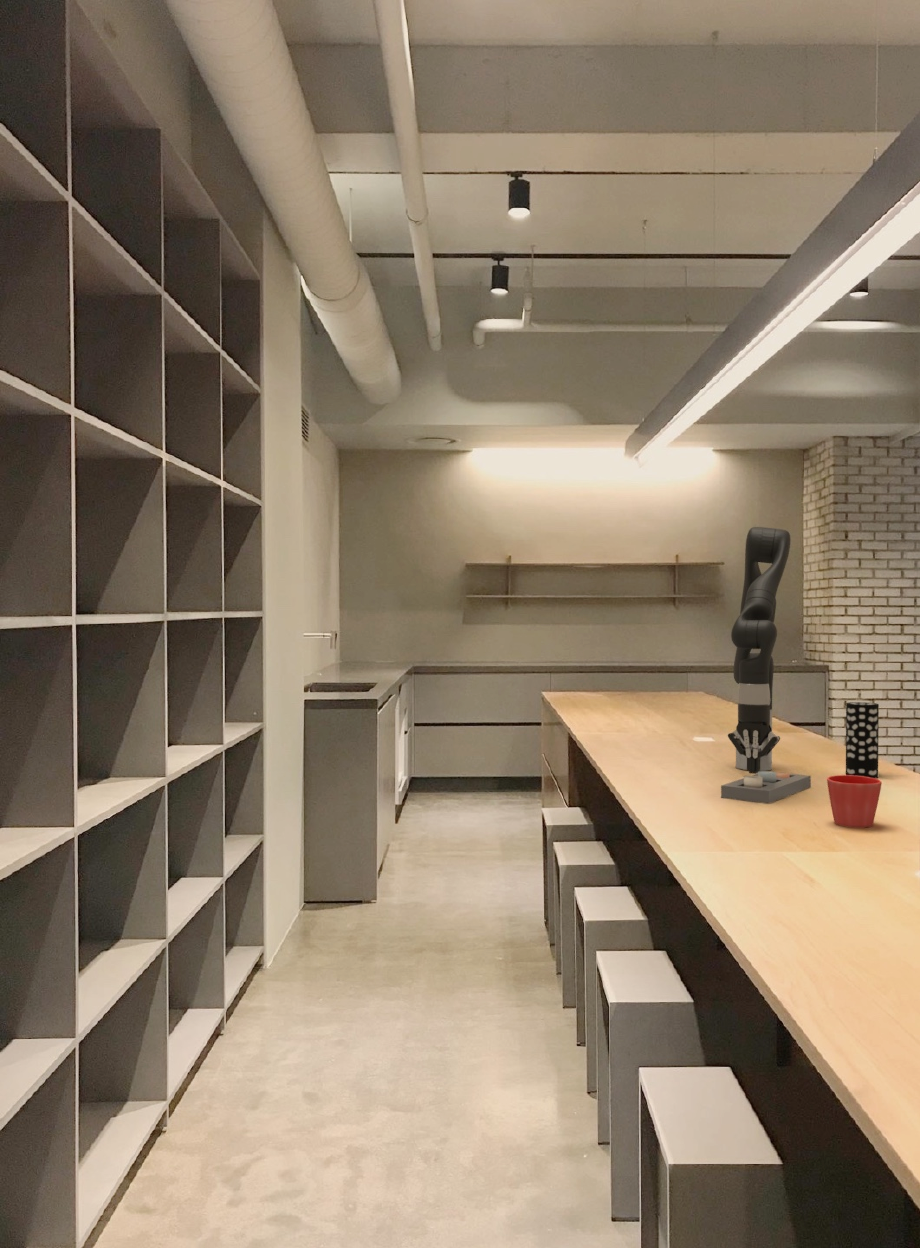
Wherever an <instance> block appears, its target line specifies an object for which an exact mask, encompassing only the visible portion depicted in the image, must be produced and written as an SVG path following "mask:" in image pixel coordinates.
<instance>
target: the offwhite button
mask: <svg viewBox="0 0 920 1248" xmlns="http://www.w3.org/2000/svg"><path fill="white" fill-rule="evenodd" d="M743 778H744V786H745V787H754V788H762V777H760V776H752V775H744V776H743Z"/></svg>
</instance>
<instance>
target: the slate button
mask: <svg viewBox="0 0 920 1248" xmlns="http://www.w3.org/2000/svg"><path fill="white" fill-rule="evenodd" d="M776 772H777V771H771V770H767V771H758V773H757V774H758V776H760V777H762V782H768V783H776Z"/></svg>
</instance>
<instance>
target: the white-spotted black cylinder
mask: <svg viewBox="0 0 920 1248" xmlns="http://www.w3.org/2000/svg"><path fill="white" fill-rule="evenodd" d="M879 708H880V705H879V703H874V702H864V701H863V702H859V701H857V702H856V701H854V702H853V701H851V702H846V703H845V775H854V776H864V777H870V778H875V779H878V778H879V732H880V731H879V729H880V728H879V723H880V722H879V721H880V720H879V717H880V716H879V713H880V711H879V710H880V709H879Z"/></svg>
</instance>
